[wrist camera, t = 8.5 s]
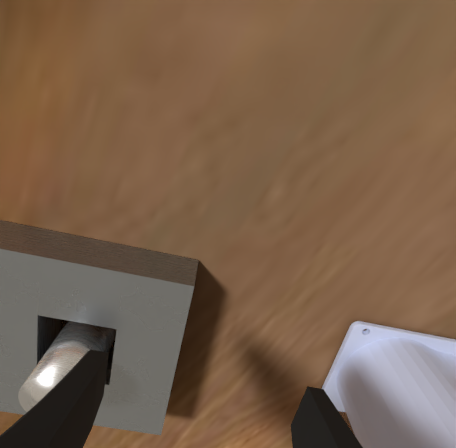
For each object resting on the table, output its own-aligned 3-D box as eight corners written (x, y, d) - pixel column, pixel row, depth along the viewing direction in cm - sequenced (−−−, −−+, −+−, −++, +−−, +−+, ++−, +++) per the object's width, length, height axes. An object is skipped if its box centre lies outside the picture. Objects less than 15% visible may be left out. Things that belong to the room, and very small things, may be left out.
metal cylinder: (120, 307, 21) (82, 382, 16) (118, 344, 22) (82, 426, 17) (71, 300, 21) (16, 374, 15) (71, 338, 22) (20, 419, 17)
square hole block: (198, 260, 20) (194, 286, 17) (168, 396, 24) (160, 435, 21) (-145, 190, 18) (-212, 207, 15) (-113, 351, 22) (-160, 386, 20)
